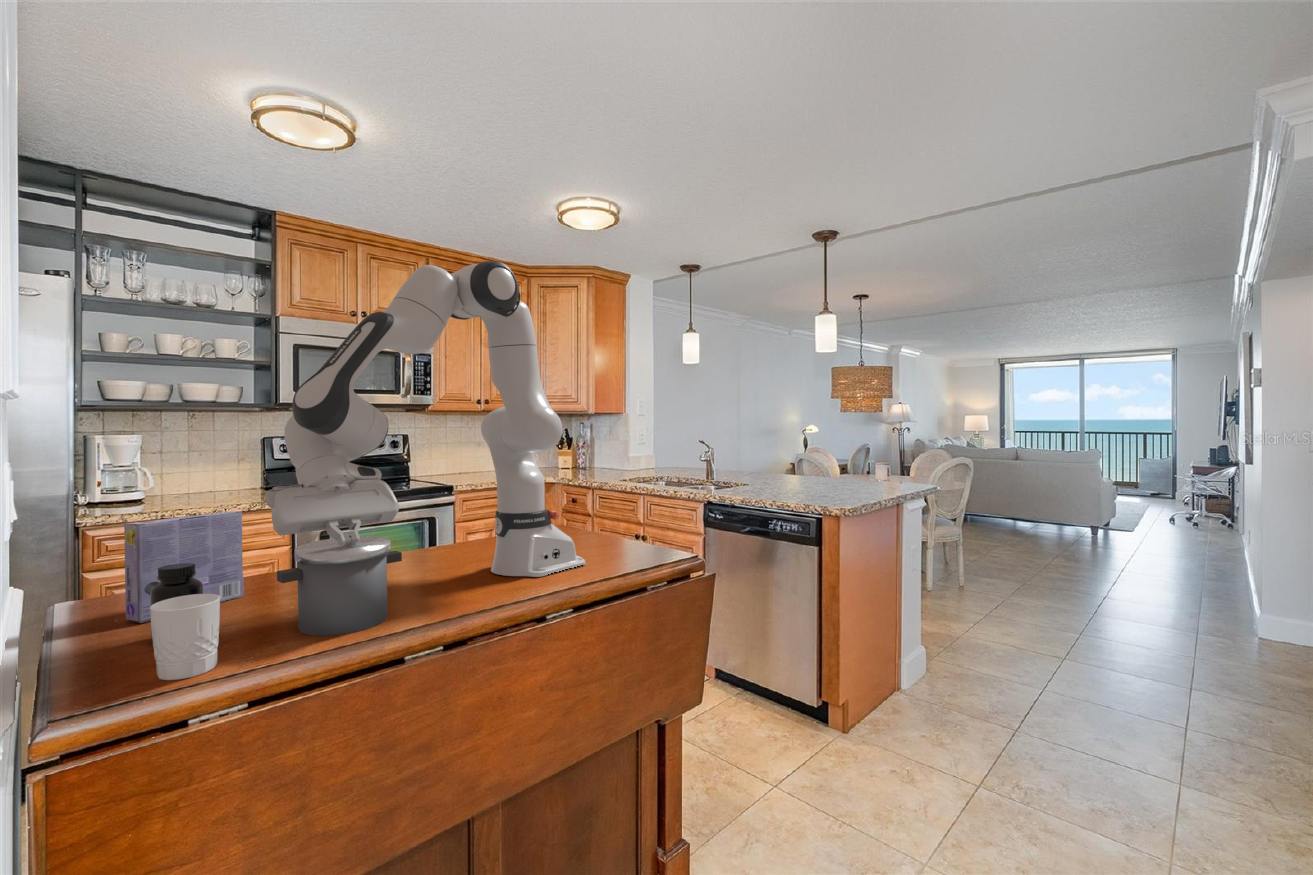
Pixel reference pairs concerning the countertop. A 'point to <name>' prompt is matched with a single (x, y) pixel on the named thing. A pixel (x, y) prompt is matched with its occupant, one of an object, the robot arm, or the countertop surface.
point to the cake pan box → (183, 556)
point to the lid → (342, 551)
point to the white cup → (185, 635)
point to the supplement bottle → (175, 583)
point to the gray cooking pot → (341, 594)
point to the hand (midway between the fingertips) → (350, 543)
